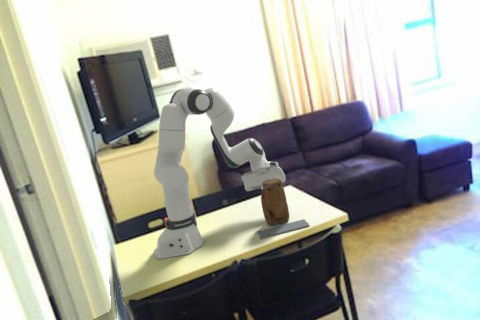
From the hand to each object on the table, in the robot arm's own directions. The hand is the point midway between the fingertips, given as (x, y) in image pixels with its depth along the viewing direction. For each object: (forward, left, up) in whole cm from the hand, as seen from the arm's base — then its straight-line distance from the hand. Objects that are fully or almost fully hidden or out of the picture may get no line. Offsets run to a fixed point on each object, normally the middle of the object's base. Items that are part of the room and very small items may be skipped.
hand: (268, 193), depth 198 cm
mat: (0, -19, -11) cm, 22 cm away
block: (0, -9, -11) cm, 15 cm away
